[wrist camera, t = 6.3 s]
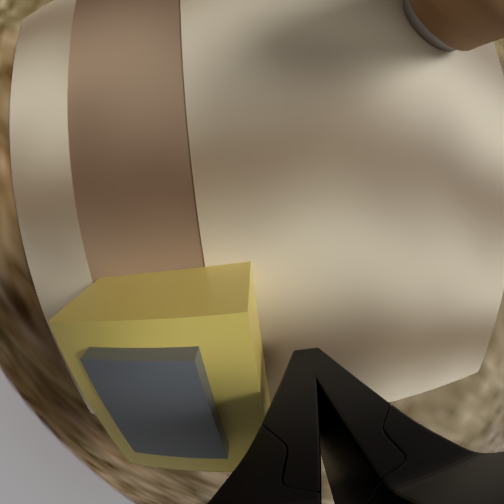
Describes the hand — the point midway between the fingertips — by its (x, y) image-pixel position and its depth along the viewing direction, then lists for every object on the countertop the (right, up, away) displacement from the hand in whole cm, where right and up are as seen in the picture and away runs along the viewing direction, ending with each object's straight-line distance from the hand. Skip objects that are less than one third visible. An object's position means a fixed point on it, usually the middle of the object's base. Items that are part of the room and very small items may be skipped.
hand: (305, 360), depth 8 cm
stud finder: (-4, 0, +1) cm, 4 cm away
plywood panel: (-1, +5, +1) cm, 5 cm away
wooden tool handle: (+5, +11, -2) cm, 12 cm away
